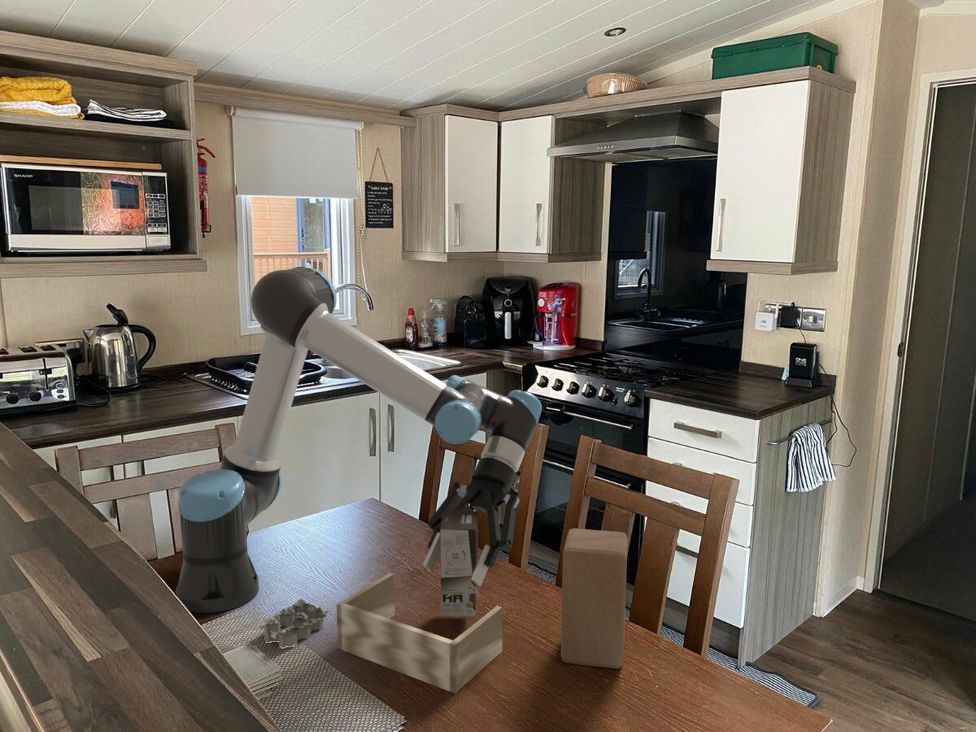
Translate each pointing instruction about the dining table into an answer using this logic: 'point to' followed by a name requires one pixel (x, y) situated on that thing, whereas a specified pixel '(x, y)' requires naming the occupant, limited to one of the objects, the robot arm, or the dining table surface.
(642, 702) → the dining table surface
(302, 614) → the egg carton
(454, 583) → the coffee box
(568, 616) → the block
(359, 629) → the wooden u-shaped frame
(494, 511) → the robot arm
